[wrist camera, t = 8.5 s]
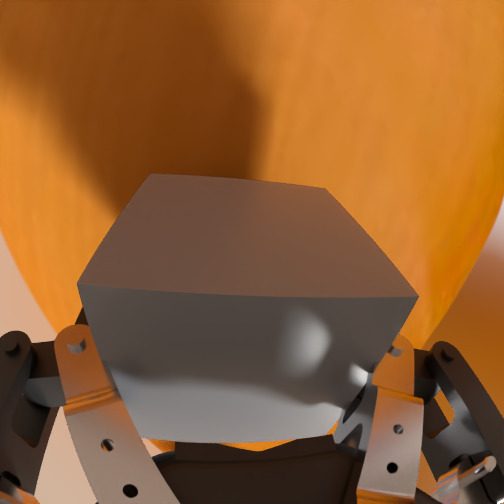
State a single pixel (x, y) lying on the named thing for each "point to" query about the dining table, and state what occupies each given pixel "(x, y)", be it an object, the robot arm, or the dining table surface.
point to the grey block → (239, 308)
